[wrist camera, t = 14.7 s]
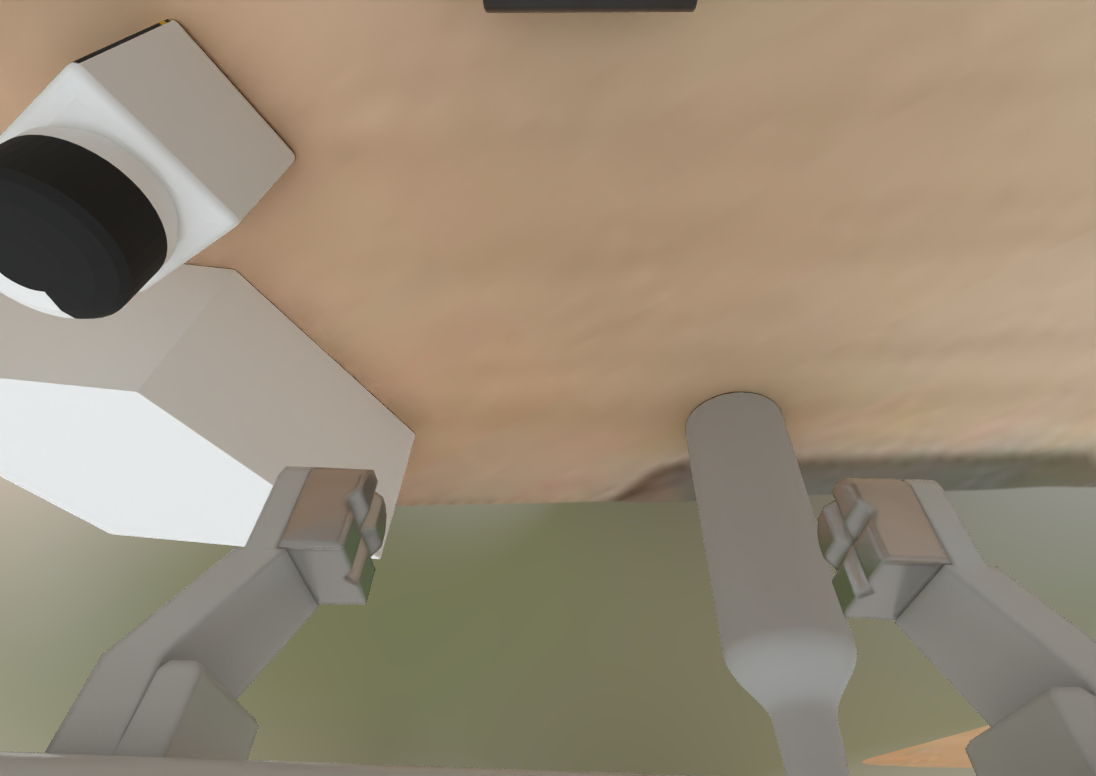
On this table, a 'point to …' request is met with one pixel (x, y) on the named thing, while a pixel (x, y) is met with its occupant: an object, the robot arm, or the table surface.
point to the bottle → (771, 578)
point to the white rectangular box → (182, 410)
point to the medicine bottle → (127, 173)
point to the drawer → (587, 6)
